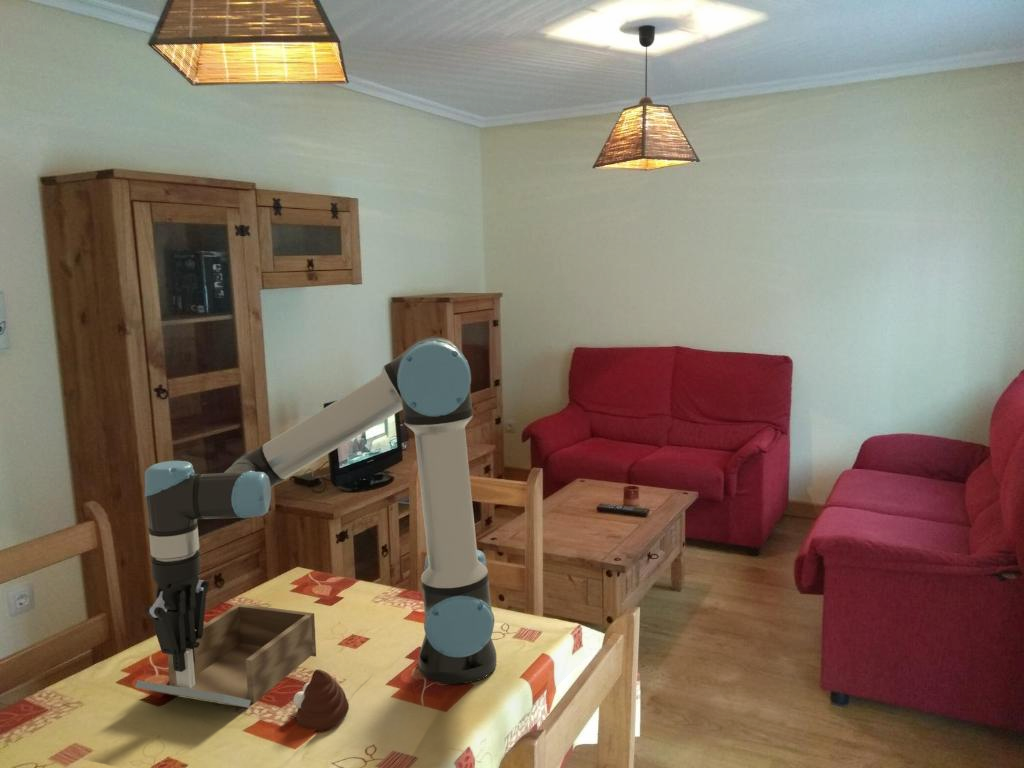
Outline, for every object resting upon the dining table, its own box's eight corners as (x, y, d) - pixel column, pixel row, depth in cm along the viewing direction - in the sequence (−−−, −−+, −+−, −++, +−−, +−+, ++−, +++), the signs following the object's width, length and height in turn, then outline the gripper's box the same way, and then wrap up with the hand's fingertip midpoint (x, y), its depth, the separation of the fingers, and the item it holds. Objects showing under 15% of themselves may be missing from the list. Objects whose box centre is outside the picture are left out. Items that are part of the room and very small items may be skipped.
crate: (240, 644, 163) (237, 603, 162) (316, 655, 158) (314, 613, 157) (170, 694, 144) (166, 647, 143) (254, 708, 139) (251, 660, 138)
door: (166, 686, 143) (137, 680, 136) (250, 700, 138) (225, 694, 131) (164, 693, 142) (135, 687, 136) (248, 707, 137) (223, 702, 130)
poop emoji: (332, 738, 130) (329, 684, 128) (285, 731, 132) (282, 679, 130) (357, 706, 139) (355, 656, 138) (313, 701, 141) (311, 651, 140)
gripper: (183, 539, 139) (193, 664, 142) (128, 565, 127) (140, 701, 130) (219, 543, 137) (228, 670, 140) (166, 570, 124) (177, 708, 128)
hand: (186, 685), depth 135 cm, fingers closed
